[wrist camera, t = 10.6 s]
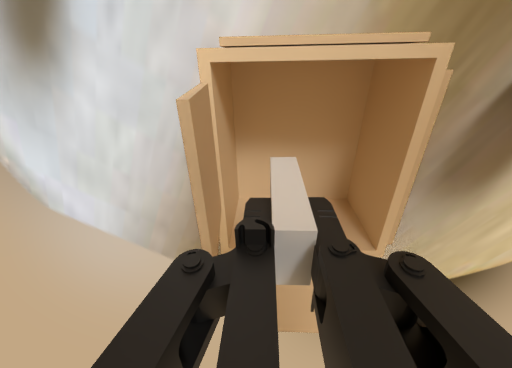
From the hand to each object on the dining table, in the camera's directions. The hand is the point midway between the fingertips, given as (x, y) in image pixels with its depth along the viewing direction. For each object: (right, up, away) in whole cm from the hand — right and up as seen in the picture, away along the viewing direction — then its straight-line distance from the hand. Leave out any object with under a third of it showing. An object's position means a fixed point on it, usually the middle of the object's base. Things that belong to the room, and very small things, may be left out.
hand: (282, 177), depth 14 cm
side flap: (-4, 0, 0) cm, 4 cm away
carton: (+3, +5, +13) cm, 15 cm away
